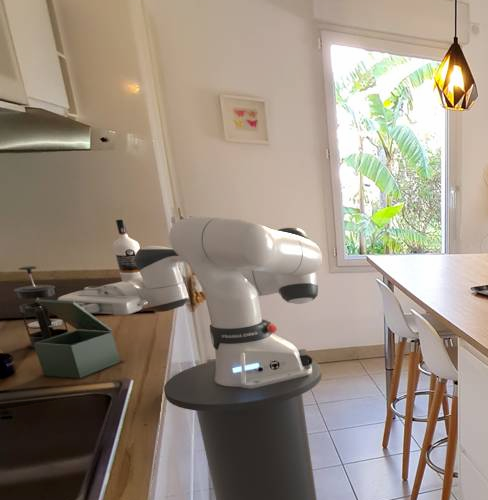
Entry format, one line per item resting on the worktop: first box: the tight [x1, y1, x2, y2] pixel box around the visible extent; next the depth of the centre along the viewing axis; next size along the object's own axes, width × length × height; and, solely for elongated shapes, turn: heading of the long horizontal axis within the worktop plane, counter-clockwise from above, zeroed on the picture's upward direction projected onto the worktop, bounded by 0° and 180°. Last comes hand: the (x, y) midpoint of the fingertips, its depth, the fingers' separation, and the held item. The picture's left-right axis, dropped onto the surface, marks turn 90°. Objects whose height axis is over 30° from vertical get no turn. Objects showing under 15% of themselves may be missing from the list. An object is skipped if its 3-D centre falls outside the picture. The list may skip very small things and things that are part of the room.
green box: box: [34, 329, 121, 379], centre depth 145 cm, size 12×10×9 cm
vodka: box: [112, 219, 141, 282], centre depth 214 cm, size 9×9×30 cm
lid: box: [34, 298, 113, 332], centre depth 143 cm, size 13×10×1 cm
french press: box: [13, 265, 69, 349], centre depth 159 cm, size 12×9×23 cm
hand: (74, 311), depth 142 cm, fingers closed
